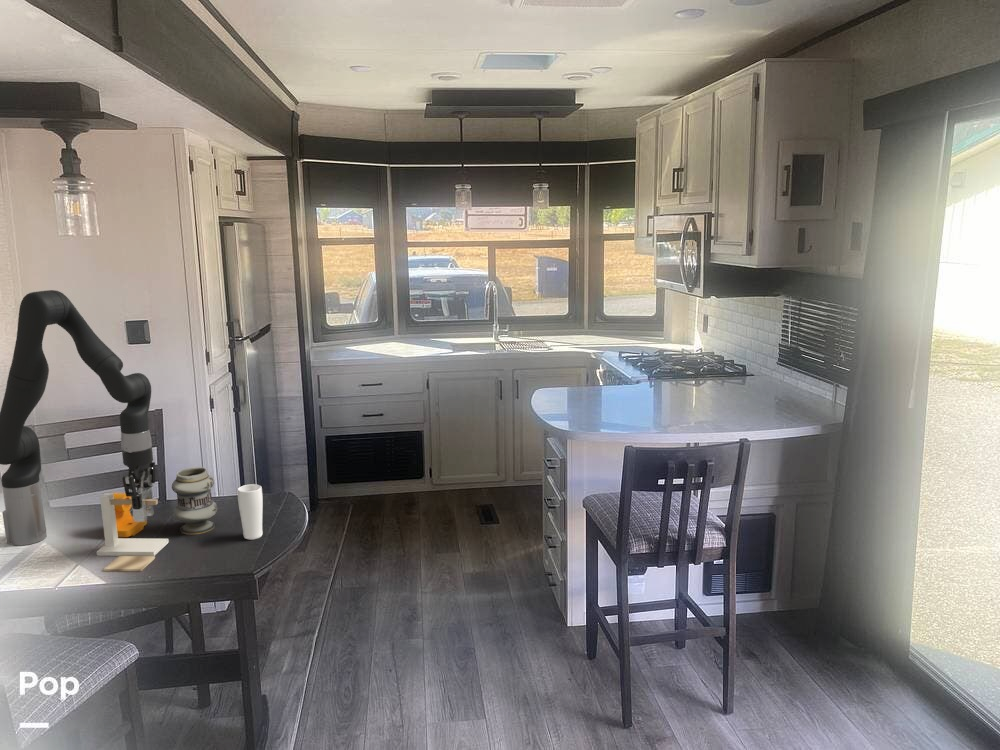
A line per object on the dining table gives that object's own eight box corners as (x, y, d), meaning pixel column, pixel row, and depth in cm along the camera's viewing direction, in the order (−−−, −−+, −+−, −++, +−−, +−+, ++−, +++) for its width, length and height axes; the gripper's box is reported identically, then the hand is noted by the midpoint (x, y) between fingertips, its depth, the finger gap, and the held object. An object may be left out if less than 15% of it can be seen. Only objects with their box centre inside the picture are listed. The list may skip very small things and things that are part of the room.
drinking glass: (255, 542, 221) (252, 493, 218) (236, 539, 223) (232, 490, 220) (270, 533, 228) (266, 485, 225) (250, 530, 230) (247, 482, 227)
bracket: (128, 539, 224) (124, 500, 222) (104, 539, 225) (100, 500, 222) (148, 525, 235) (144, 487, 232) (125, 524, 235) (121, 487, 233)
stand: (97, 555, 213) (90, 500, 210) (113, 542, 222) (108, 489, 219) (154, 555, 213) (148, 501, 210) (168, 542, 222) (163, 489, 219)
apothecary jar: (170, 527, 233) (164, 470, 229) (209, 517, 240) (204, 462, 237) (184, 539, 224) (179, 480, 220) (225, 528, 231) (220, 471, 228)
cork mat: (103, 571, 204) (103, 569, 204) (119, 558, 212) (118, 556, 212) (140, 571, 204) (140, 569, 204) (155, 558, 212) (154, 556, 211)
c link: (133, 521, 213) (130, 494, 211) (143, 513, 219) (140, 487, 217) (144, 521, 213) (141, 494, 211) (154, 513, 218) (151, 487, 217)
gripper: (136, 439, 219) (141, 495, 222) (109, 454, 205) (116, 514, 208) (162, 439, 218) (167, 495, 222) (137, 454, 204) (143, 514, 208)
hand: (142, 504), depth 215 cm, fingers closed on c link, 5 cm apart
